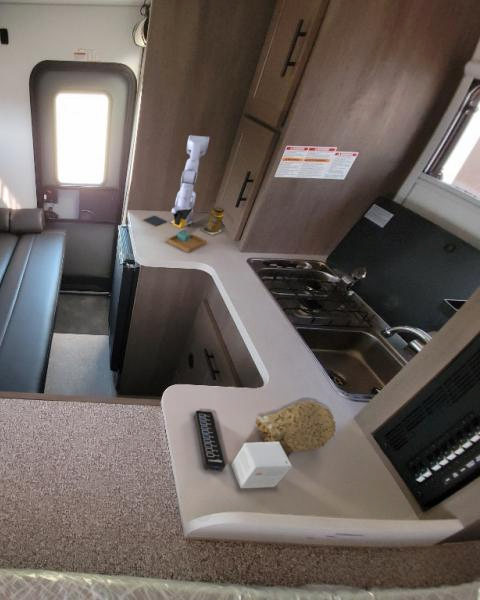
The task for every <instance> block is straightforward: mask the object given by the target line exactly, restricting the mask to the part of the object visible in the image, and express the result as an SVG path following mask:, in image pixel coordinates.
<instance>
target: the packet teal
mask: <svg viewBox="0 0 480 600" xmlns="http://www.w3.org/2000/svg"><path fill="white" fill-rule="evenodd" d="M186 232H187V231H186ZM186 232H184V230H182V231H179V232H177V233H176V235H177V239H179V240H181V241H184V242H186V241H188V240H189V239H190V235H191V234H192V233H191V234H188V233H189V232H188V233H186Z"/></svg>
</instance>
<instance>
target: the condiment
mask: <svg viewBox="0 0 480 600" xmlns="http://www.w3.org/2000/svg"><path fill="white" fill-rule="evenodd" d="M224 212H225V209H224V208H223V207H220V206H219V207H218V206H215V207H213V209H212V211H211V213H210V216H209V221H208V225H207V227H204V228H201V229H200V230H202V231H203V232H205V233H207V234H210V235H212V236H213V235H215V234H219V233H220V232H223V230H222V229H220V228H221V225H222V221H223V219H224Z"/></svg>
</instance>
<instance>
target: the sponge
mask: <svg viewBox="0 0 480 600" xmlns="http://www.w3.org/2000/svg"><path fill="white" fill-rule="evenodd" d="M334 418H335V417H334V414H333V412H331V411H330V409H329V408H327V407H324V406H322V405H321V404H319V403H318V402H315V401H312V400H303V401H297V402H296V403H294V404H291V405H289V406H288V407H284V408H282V409H280V410H279V411H278V412H276V413H274V414H272V413H271V414H266V415H265V414H264V415H263V416H261V415H260V416H257V417H256V418H255V424H256V428H257V429H258V430H259V432H260V435H261V437H263V438H264V439H263V440H264V442H278V441H279V443H280V445H281V446H282V448H283V450H284V452H285V454H286V455H288V454H291V453H296V452H300V451H302V452H309V453H310V452H314V451H317V450H318V449H320V448H322V447H324V446H325V444H327V442H328V441H330V440H331V439H332V437H334V436H335V433H336V427H337V426H336V423H337V422H336V421H335V420H334Z"/></svg>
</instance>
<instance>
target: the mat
mask: <svg viewBox="0 0 480 600" xmlns="http://www.w3.org/2000/svg"><path fill="white" fill-rule="evenodd" d="M143 222H146V223H149V224H150V225H152V226H155V227H157V226H160V225H162V224H164V223H167V220H165V219H164V218H163V219H162V218H160V217H158V216H156V215H152V216H150V217H147V218H145V219H143Z"/></svg>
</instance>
